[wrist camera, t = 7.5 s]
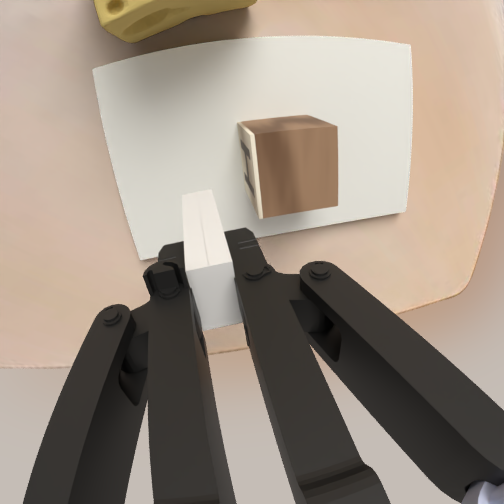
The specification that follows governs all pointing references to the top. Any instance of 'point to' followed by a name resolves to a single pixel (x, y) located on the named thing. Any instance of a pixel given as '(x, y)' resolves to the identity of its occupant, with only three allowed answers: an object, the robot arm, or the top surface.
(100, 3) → the cheese
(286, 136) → the walnut block
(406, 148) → the cutting board
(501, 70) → the top surface
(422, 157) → the top surface
